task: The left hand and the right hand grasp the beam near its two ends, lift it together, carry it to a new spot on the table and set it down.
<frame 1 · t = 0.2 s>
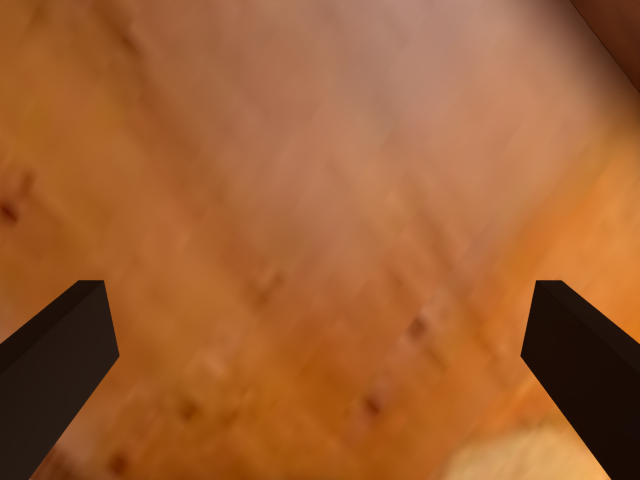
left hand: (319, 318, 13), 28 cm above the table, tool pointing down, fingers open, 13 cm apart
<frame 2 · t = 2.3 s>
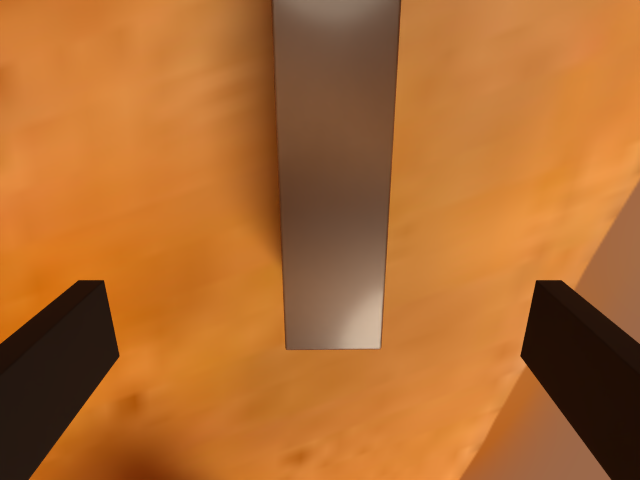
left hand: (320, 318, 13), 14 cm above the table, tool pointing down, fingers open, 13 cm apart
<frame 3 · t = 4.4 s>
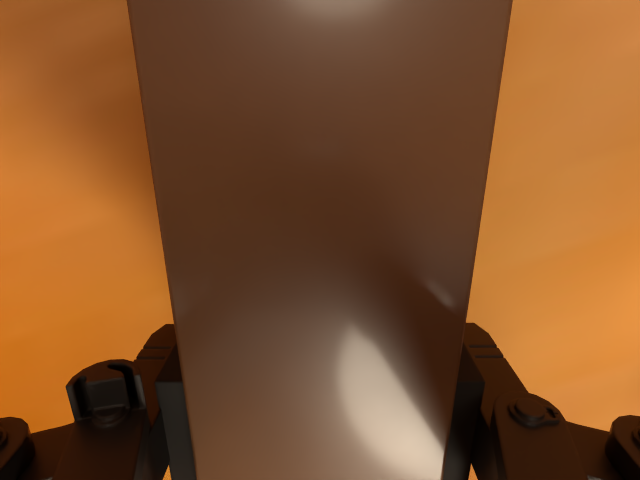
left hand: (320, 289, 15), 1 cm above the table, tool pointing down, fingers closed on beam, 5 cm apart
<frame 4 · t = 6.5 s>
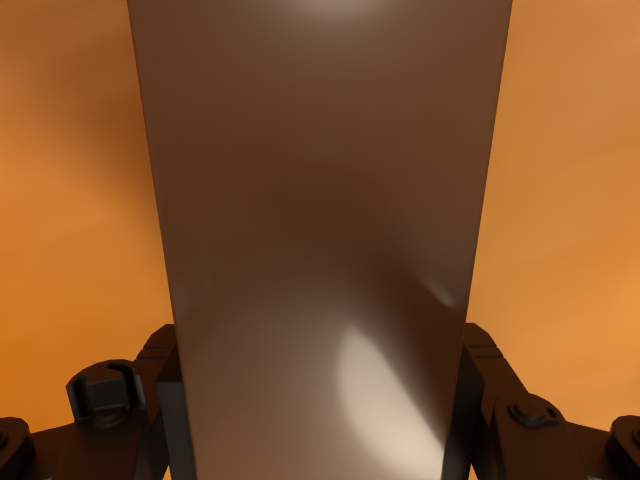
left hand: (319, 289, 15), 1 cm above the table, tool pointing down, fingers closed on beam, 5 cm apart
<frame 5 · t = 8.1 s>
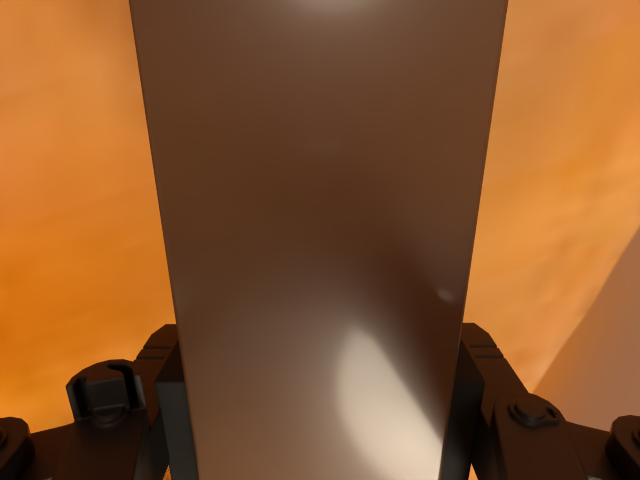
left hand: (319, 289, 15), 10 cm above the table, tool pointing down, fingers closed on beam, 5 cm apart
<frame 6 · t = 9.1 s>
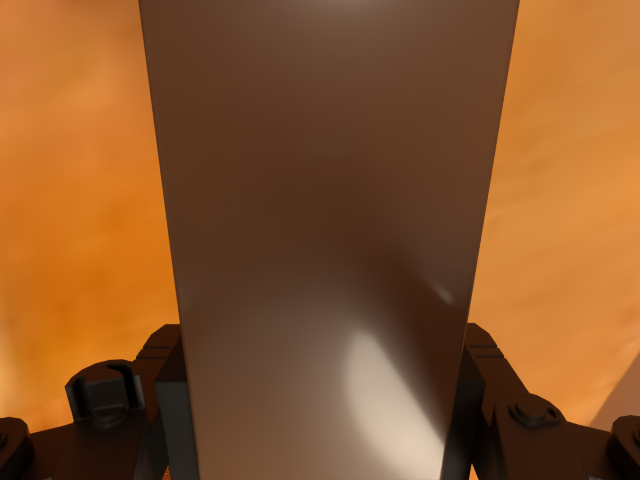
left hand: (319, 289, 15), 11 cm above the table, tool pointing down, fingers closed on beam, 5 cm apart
when the left hand's fingers open (2 cm above the table, at t = 11.9 s): beam drops 1 cm, on the table.
when the right hand's fingers open (4 cm above the table, at t = 12.1 s): beam stays where it is, on the table.
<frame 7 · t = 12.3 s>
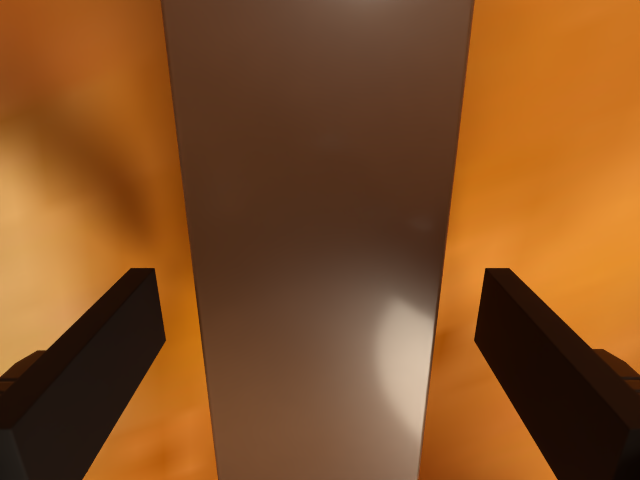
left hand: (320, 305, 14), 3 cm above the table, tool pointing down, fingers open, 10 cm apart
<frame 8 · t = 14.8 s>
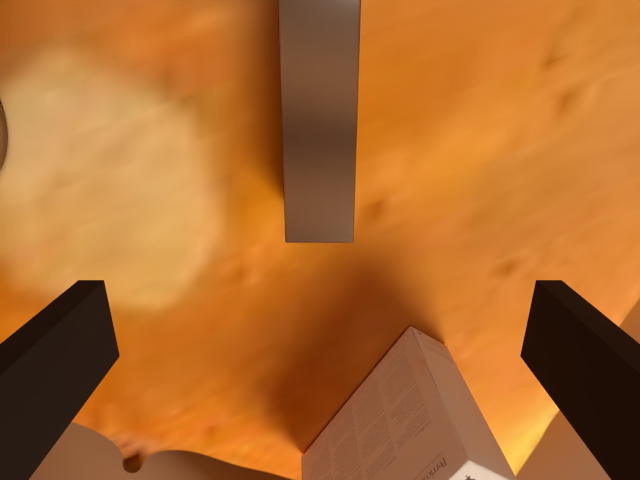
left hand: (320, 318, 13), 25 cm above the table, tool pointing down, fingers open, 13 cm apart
skincare box: (372, 403, 45), on the table
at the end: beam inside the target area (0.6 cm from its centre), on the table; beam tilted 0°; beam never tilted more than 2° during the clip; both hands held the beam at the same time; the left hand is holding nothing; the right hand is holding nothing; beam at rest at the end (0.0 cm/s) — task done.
